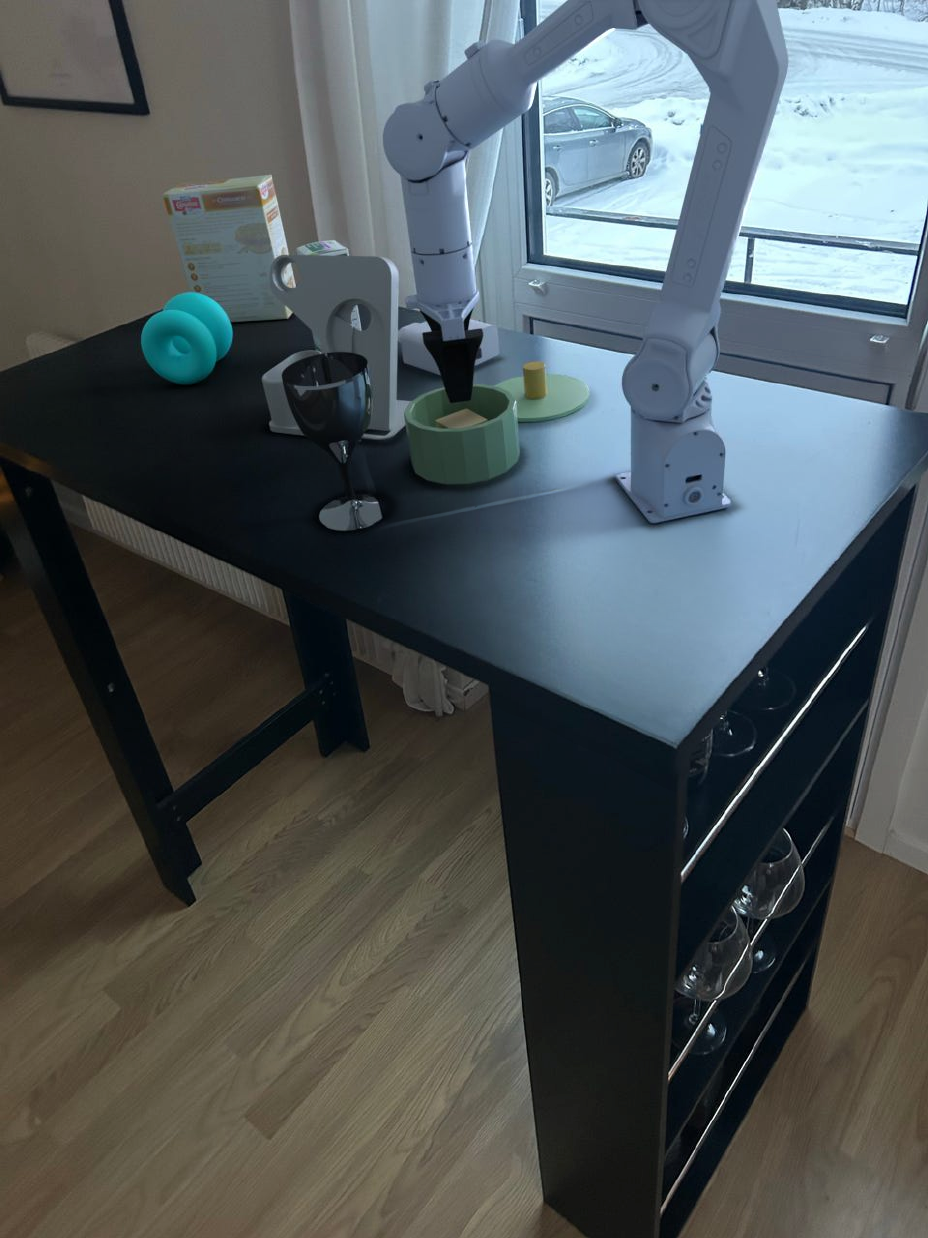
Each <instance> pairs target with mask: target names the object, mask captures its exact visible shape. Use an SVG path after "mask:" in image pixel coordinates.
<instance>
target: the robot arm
mask: <svg viewBox="0 0 928 1238" xmlns="http://www.w3.org/2000/svg"><path fill="white" fill-rule="evenodd" d="M777 2H778V1H777V0H566V1H564V2H563V3H562V4H561V5H559V7H557V8H556V9H555V10H553V11H552V12H551V13H550V14H549V15H548V16H547V17H546V18H544V19H543V20H542V21H541V22H539V24H537V25H536V26H535V27H533V28H532V29H531V30H530V31H529V32H528V33H527V34H525V35H524V36H523V37H522V38H521V39H519V41H516V42H515V43H512V42H509V41H505V40H503V39H498V38H495V39H494V38H493V39H491V40H489V41H488V42H487V43H485V41H484V40H483V39H481V40H479V41H475V42H473V43H472V44H471V45H470V46H468V47H467V48H466V49H465V50H464V55H465V58H466V60H465V61H464V62H462V63H461V64H460V65H458V66H457V67H456V68H454V69H453V70H451V72H450V73H449V74H447V75H446V76H445V77H443V78H442V79H441V80H440V79H439V78H434V79H431V80H430V81H428V82H427V83H425V84H424V86H423V91H424V95H423V98H422V99H419V100H416V101H414V102H404V103H401V104H399V105H397V106H396V107H395V109H394V111H393V112H392V113H391V115H389V117H388V118H387V120H386V122H385V124H384V128H383V132H382V146H383V151H384V154H385V157H386V159H387V162H388V163H389V165H390V166H391V168H392V169H393V170H394V171H395V172H396V173H397V174H398V175H399V176H400V177H399V178H400V185H401V191H402V198H403V205H404V212H405V213H404V214H405V219H406V226H407V234H408V240H409V241H408V242H409V247H410V248H409V249H410V256H411V263H412V271H413V277H414V284H415V291H416V294H413V295H411V294H410V295H406V297H405V298H404V301H405V308H406V310H413V309H415V310H417V309H418V310H419V312H420V314H421V315H422V317H423V318H424V319H425V322H426V321H427V323H428V325H429V327H430V329H431V331H430V332H423V333H422V335H423V343H424V345H425V347H426V348H427V350H428V351H429V353H430V354H431V355H432V357H433V359H434V360H435V362H436V364H437V367H438V369H439V372H440V374H441V375H440V378H441V382H442V384H443V387H444V388H445V391H446V394H447V396H448V399H449V401H450V403H456V402H464V401H470V400H471V397H472V390H473V384H474V376H475V367H476V365H475V361H476V357H477V353H478V350H479V347H480V345H481V343H482V340H483V335H484V334H483V330H482V328H480V329H472V330H468V328H469V322H470V319H472V314H473V311H474V308H475V306H476V305H477V304H478V302H479V300H480V290H479V288H478V287H477V281H476V270H475V261H474V250H473V242H472V240H473V239H472V231H471V222H470V210H469V201H468V190H467V181H466V178H467V174H466V173H467V172H466V171H467V170H466V160H467V158H468V156H469V155H470V153H471V151H472V150H474V149H475V148H476V147H478V146H479V145H481V144H482V143H483V142H485V141H486V140H488V139H490V138H491V137H492V136H493V135H495V134H496V133H498V132H499V131H501V130H502V129H504V128H505V127H506V126H508V125H509V124H510V123H512V122H514V121H515V120H516V119H518V118H519V117H520V116H522V115H523V114H525V113H527V112H528V111H529V110H531V107H532V105H533V102H534V98H535V95H536V94H535V93H536V89H537V84H538V82H539V81H541V80H543V79H544V78H545V77H547V76H548V75H550V74H551V73H553V72H554V71H555V70H557V69H558V68H560V67H561V66H563V65H564V64H566V63H567V62H569V61H570V60H572V59H574V58H575V57H577V55H579V54H581V53H582V52H584V51H585V50H587V49H588V48H590V47H591V46H592V45H594V44H595V43H597V42H599V41H600V40H601V39H603V38H605V37H606V36H607V35H609V34H610V33H612V32H614V31H615V30H627V31H629V30H630V31H637V30H640V29H643V28H645V27H646V26H651V28H653V29H654V30H655V31H656V32H657V33H658V34H659V35H660V36H662V38H665V40H667V41H669V42H670V43H671V44H673V45H674V46H675V47H677V48H678V49H680V50H681V51H682V52H684V54H686V55H687V56H688V58H689V59H690V60H691V63H692V64H693V65H694V67H695V68H696V70H697V71H698V73H699V74H700V76H701V78H702V79H703V81H704V83H705V84H706V85H707V87H708V88H709V98H708V101H707V106H706V110H705V114H704V118H703V121H702V126H701V129H700V133H699V139H698V142H697V145H696V146H697V147H696V150H695V154H694V158H693V162H692V166H691V169H690V174H689V178H688V181H687V182H688V183H687V186H686V190H685V193H684V198H683V202H682V207H681V209H680V214H679V217H678V222H677V226H676V230H675V232H674V233H675V234H674V237H673V242H672V246H671V250H670V254H669V258H668V262H667V264H666V265H667V266H666V270H665V274H664V278H663V282H662V286H661V290H660V293H659V297H658V301H657V304H656V305H655V308H654V310H653V312H652V314H651V317H650V319H649V322H647V325H646V328H645V330H644V333H643V335H642V340H641V343H640V346H639V349H638V350H637V351H636V354H634V355H633V356H632V358H631V359H630V360H628V362H627V363H626V365H625V367H624V369H623V372H622V375H621V389H622V393H623V396H624V398H625V400H626V402H627V404H628V405H629V406H630V471H627V472H621V473H618V474H616V475H615V480H616V481H617V482H618V484H619V485H620V486H621V488H622V489H623V490H624V492H625V493H626V494H627V495H628V497H629V498H630V499H631V501H632V502H633V503H634V504H635V506H636V507H637V508H638V510H639V511H640V512H641V513H642V514H643V516H644V517H645V518H646V520H647V521H648V522H649V523H651V524H658V523H663V522H667V521H672V520H676V519H677V520H678V519H681V518H685V517H690V516H695V515H700V514H705V513H708V512H709V513H710V512H714V511H718V510H723V509H727V508H730V507H731V506H732V500H731V499H730V498H729V497H728V496H727V495H726V494H725V493H724V483H725V482H724V481H725V468H726V467H725V466H726V446H725V442H724V440H723V438H722V437H721V435H720V434H719V432H718V431H717V430H716V428H715V425H714V423H713V417H712V405H713V404H712V403H713V394H712V390H711V388H710V386H709V383H708V381H707V376H708V375H709V374H710V373H711V372H712V371H713V370H714V369H715V367H716V366H717V363H718V361H719V358H720V353H721V344H720V339H719V335H718V334H719V333H718V326H719V321H720V318H721V314H722V308H721V307H722V306H721V303H720V300H721V297H722V293H723V290H724V286H725V284H726V280H727V277H728V273H729V270H730V267H731V263H732V260H733V257H734V253H735V250H736V246H737V243H738V239H739V236H740V233H741V230H742V226H743V222H744V219H745V216H746V212H747V209H748V206H749V202H750V199H751V195H752V193H753V189H754V186H755V182H756V179H757V176H758V172H759V169H760V165H761V162H762V159H763V155H764V152H765V150H766V149H765V148H766V145H767V142H768V139H769V135H770V132H771V130H772V129H771V128H772V125H773V122H774V118H775V116H776V112H777V109H778V104H779V102H780V98H781V95H782V93H783V92H782V91H783V88H784V84H785V81H786V78H787V75H788V67H789V54H788V50H787V49H788V48H787V45H786V39H785V36H784V30H783V26H782V22H781V17H780V11H779V7H778V3H777Z"/></svg>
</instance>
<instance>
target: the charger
mask: <svg viewBox="0 0 928 1238" xmlns="http://www.w3.org/2000/svg"><path fill="white" fill-rule="evenodd" d="M480 328H482V330H483V334H484V335H483V340H482V343H481V345H480V347H479V350H478V353H477V357H476V361H475V366H478V365H480V364H482V363H484V362H486V361H488V360H491V359H493V358H495V357H497V356H499V355H500V343H499V342H500V341H499V332H498V327H497V326H496V325H493V324H490V323H486V322H483V321H482V322H481V321H478V320H474V319H472V318H470V322H469V328H468V330H472V329H480ZM430 331H431V329H430V327H429V325H428V323H427V321H426V320H425V321H423V322H421V323H419V322H413V323H410V324H408V325H404V326H403V327H401V328H400V329H398V344H400V347H401V354H402V361H403V363H404V364H406V365H409V366H412V367H415V368H418V369H421V370H424V371H426V372H430V373H433V374H434V375H438V376H441V374H440V372H439V369H438V367H437V364H436V362H435V360H434V359H433V357H432V355H431V354H430V353H429V351H428V350H427V348H426V347H425V345H424V343H423V335H422V333H423V332H430Z"/></svg>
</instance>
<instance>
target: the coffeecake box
mask: <svg viewBox="0 0 928 1238" xmlns="http://www.w3.org/2000/svg"><path fill="white" fill-rule="evenodd" d="M162 197H163V198H162V199H163V201H164V205H165V209H166V212H167V215H168V219H169V222H170V225H171V229H172V232H173V237H174V240H175V243H176V246H177V251H178V254H179V257H180V260H181V265H182V268H183V271H184V276H185V278H186V282H187V285H188V289H189V292H193V293H199V294H203V295H205V296H207V297H209V298H211V299H213V300H214V301H215V302H217V303H218V304H219V305H220V306H221V307H222V308H223V310H224V311H225V313H226V314H227V316H228V318H229V320H230V323H243V322H258V321H275V320H288V319H289V318H290V317H291V316H292V315H293V314H294V313H293V312H292V311H291V310H290V309H289V308H288V307H286V306H285V305H284V304H283V303H282V302H281V301H280V300H279V299H278V298H277V297H276V296H275V295H274V294H273V292H272V290H271V287H270V267H271V264H272V262H273V261H274V260H275V258H277V257H278V256H280V255H290V252H289V248H288V244H287V239H286V234H285V230H284V225H283V221H282V217H281V216H282V215H281V211H280V208H279V202H278V198H277V193H276V189H275V184H274V180H273V175H272V174H266V175H255V176H254V175H253V176H246V177H245V176H244V177H236V178H227V179H225V178H224V179H215V180H205V181H196V182H186V183H179V184H177V185H175V186H173V187H172V188H170V189H168V190H166V191H165V192H163V194H162ZM284 279H285V282H286V284H287V285H288V286H289V287H291V288H295V287H296V286H297V284H296V280H295V276H294V272H293V266H292V263H289V264H288V265H287V266H286V268H285V270H284Z"/></svg>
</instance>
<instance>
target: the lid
mask: <svg viewBox="0 0 928 1238" xmlns="http://www.w3.org/2000/svg"><path fill="white" fill-rule="evenodd" d="M546 371H547V370H546V364H545V362H543V361H540V360H533V361H529V362H525V363H524V364H523V365H522V375H520V376H516V377H512V378H508V379H506V380H503V381H501V382H499V383H497V384H495V385H494V386H497V387H500V388H502V389H504V390H507V391H509V392H510V393H511V394H512V395H513V397H514V398H515V400H516V407H517V419H518V423H520V422H521V423H534V422H537V423H538V422H545V421H552V420H555V419H560V418H563V417H566V416H568V415H571V414H574V413H575V412H577V411H579V410H580V409H582V408H583V407H584V406H585V405H586V404H587V403H588V401H589V399H590V389H589V386H588V385H587V384H586V383H585V382H583V381H582V380H580V379H578V378H575V377H572V376H570V375H565V374H557V373H547V372H546Z"/></svg>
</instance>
